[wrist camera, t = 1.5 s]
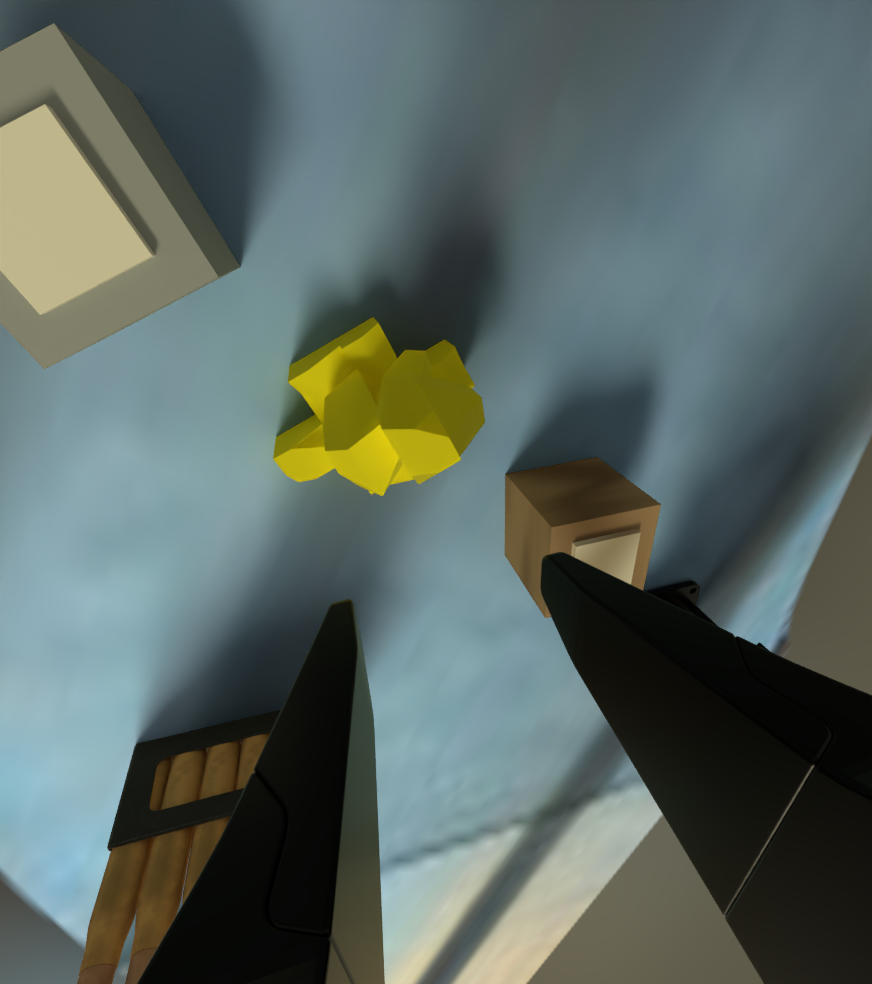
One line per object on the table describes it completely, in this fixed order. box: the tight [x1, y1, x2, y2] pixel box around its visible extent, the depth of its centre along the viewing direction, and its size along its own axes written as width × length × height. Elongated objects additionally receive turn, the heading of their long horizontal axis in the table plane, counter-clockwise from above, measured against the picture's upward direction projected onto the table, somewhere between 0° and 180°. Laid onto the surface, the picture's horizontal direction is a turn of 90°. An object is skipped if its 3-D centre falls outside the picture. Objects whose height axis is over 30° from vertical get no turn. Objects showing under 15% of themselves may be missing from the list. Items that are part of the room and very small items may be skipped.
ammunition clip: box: [77, 710, 281, 984], centre depth 21 cm, size 11×2×12 cm, turn 91°
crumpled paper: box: [273, 317, 485, 496], centre depth 16 cm, size 6×8×8 cm
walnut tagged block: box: [505, 457, 661, 618], centre depth 22 cm, size 5×5×5 cm
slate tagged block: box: [0, 23, 240, 369], centre depth 12 cm, size 5×5×5 cm
